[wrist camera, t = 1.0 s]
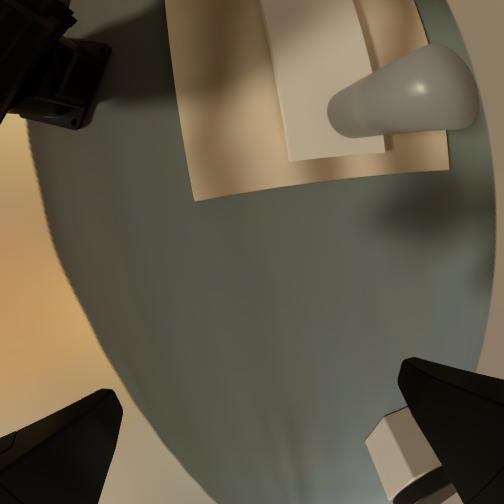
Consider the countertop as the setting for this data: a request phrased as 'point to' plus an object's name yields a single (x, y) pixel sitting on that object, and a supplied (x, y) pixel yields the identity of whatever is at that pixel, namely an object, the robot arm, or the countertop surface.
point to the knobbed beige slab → (356, 83)
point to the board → (274, 99)
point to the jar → (407, 462)
